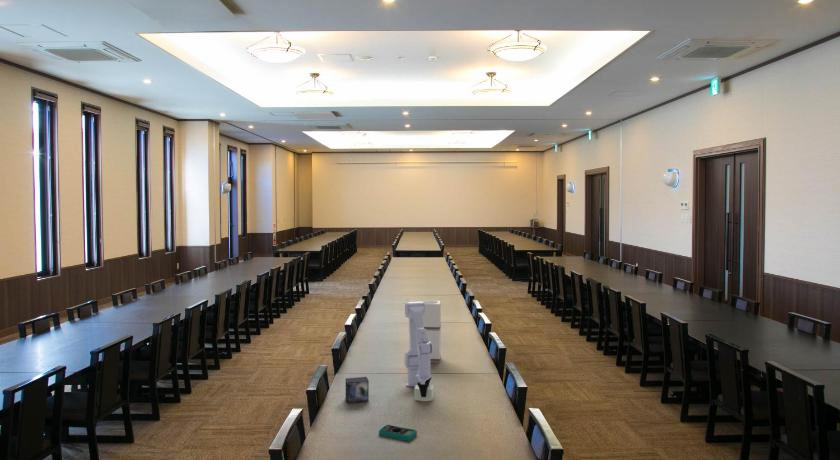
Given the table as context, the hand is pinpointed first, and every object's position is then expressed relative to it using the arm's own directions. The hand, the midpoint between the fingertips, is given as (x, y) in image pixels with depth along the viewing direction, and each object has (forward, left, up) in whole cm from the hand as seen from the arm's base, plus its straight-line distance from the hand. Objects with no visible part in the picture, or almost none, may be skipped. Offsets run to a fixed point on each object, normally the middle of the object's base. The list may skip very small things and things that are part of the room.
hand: (424, 394), depth 278 cm
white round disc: (0, 0, -2) cm, 2 cm away
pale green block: (0, 0, -2) cm, 2 cm away
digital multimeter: (+44, -5, -3) cm, 45 cm away
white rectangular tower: (-66, -5, -2) cm, 66 cm away
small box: (+7, -32, -2) cm, 33 cm away
